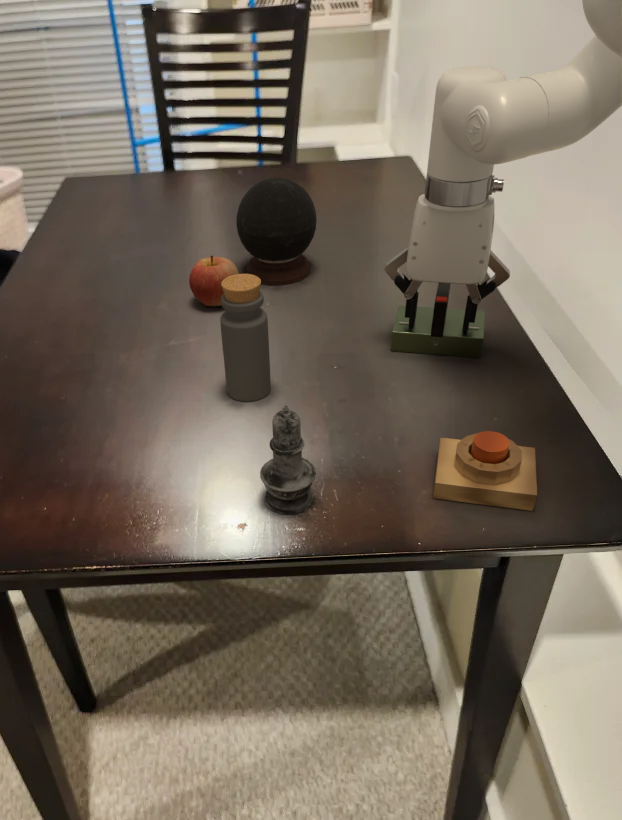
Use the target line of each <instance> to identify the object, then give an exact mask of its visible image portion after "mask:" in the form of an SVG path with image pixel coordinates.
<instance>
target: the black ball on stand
mask: <svg viewBox="0 0 622 820" xmlns="http://www.w3.org/2000/svg"><path fill="white" fill-rule="evenodd" d="M237 208H238V209H237V212H236V229H237V230H236V231H237V235H238V238H239V239H240V242H241V244H242V246H243V247H244V249H245V250H246V251H247V253H249V254H250V255H251V256H252V257H251V258H250V259H249V261H248V263H247V264H246V266H245V274H252V275H255V276H257V277H259V278H260V280H261V285H265V286H283V285H284V286H285V285H289V284H290V285H291V284H295V283H297V282H300V281H302V280H304V279H306V278H307V277H308V276H309V275H310V274H311V268H312V267H311V262H310V261H309V260H308V259H307V256H305V255H304V253H305V252H306V250H307V249H308V247H309V246H310V245H311V242H312V241H313V239H314V237H315V233H316V230H317V221H318V220H317V210H316V207H315V204H314V201H313V199H312V197H311V196H310V194H309V192H307V191H306V189H305V188H304V187H303V186H301V185H300V184H299V183H297V182H296V181H294V180H292V179H289V178H285V177H269V178H263V180H260V181H258V182H257V183H255V184H254V185H252V186H251V187H249V189H248V191H246V193H245V194H244V195H243V197H242V198H241V201H240V203H239V205H238V207H237Z"/></svg>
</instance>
